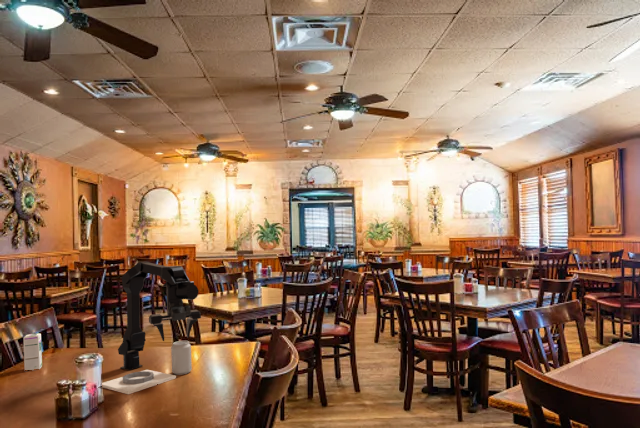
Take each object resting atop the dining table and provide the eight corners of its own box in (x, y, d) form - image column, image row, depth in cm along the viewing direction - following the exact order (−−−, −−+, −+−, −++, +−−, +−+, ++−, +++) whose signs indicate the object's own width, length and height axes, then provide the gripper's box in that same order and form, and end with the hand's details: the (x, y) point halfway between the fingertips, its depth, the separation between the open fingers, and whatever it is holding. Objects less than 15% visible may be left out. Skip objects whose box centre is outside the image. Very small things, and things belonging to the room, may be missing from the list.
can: (186, 375, 182) (185, 344, 183) (168, 375, 184) (167, 344, 184) (195, 370, 190) (194, 339, 190) (177, 369, 191) (176, 339, 192)
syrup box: (40, 369, 201) (39, 335, 202) (23, 371, 199) (23, 336, 199) (42, 366, 206) (41, 332, 207) (26, 368, 204) (26, 334, 205)
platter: (99, 386, 173) (99, 379, 174) (147, 372, 190) (146, 365, 190) (128, 394, 163) (128, 386, 163) (176, 378, 180) (175, 371, 180)
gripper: (153, 303, 172) (154, 346, 172) (204, 298, 181) (205, 339, 181) (148, 300, 182) (149, 341, 182) (196, 295, 191) (197, 334, 191)
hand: (175, 339), depth 183 cm, fingers open, 9 cm apart
